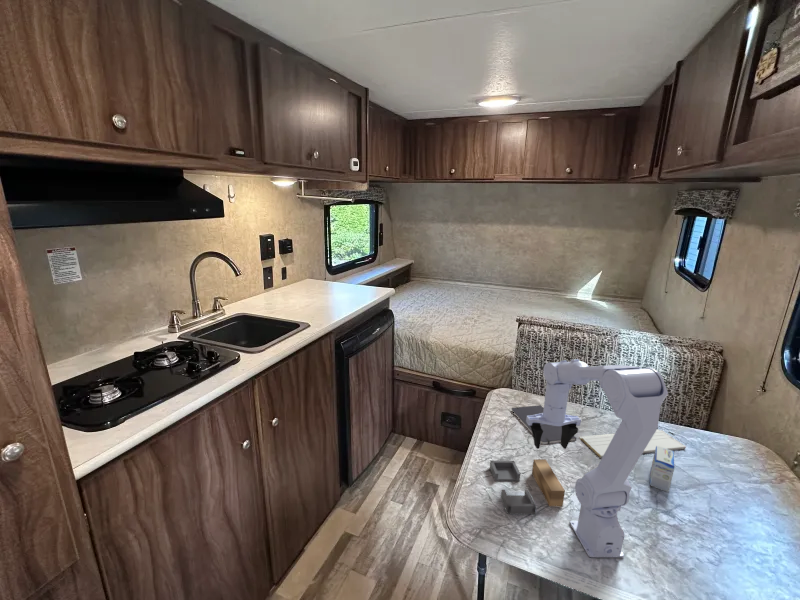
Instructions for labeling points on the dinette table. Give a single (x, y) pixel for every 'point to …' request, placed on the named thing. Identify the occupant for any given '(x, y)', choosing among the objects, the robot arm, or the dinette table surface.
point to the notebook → (549, 432)
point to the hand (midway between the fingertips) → (550, 446)
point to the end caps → (512, 502)
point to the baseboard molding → (659, 439)
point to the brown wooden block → (548, 482)
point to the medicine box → (662, 468)
